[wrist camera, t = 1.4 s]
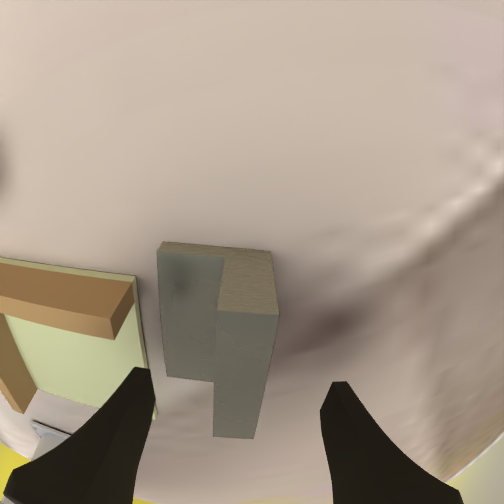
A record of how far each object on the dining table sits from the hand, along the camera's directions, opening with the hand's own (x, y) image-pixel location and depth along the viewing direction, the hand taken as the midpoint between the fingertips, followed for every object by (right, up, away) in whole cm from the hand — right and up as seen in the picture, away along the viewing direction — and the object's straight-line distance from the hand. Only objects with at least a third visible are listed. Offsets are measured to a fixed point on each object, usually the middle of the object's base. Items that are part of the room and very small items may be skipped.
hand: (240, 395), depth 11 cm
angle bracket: (-2, +2, +5) cm, 6 cm away
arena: (-12, 0, +6) cm, 13 cm away
